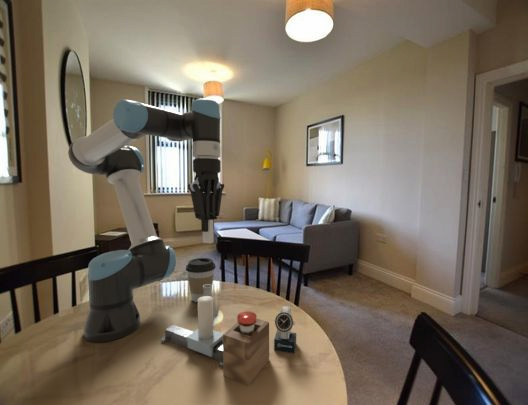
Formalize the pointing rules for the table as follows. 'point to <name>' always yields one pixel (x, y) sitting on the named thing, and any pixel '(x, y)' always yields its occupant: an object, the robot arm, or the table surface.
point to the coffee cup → (199, 276)
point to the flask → (208, 293)
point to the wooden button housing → (245, 352)
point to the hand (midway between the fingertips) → (208, 242)
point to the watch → (284, 331)
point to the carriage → (205, 329)
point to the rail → (180, 338)
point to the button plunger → (246, 322)
